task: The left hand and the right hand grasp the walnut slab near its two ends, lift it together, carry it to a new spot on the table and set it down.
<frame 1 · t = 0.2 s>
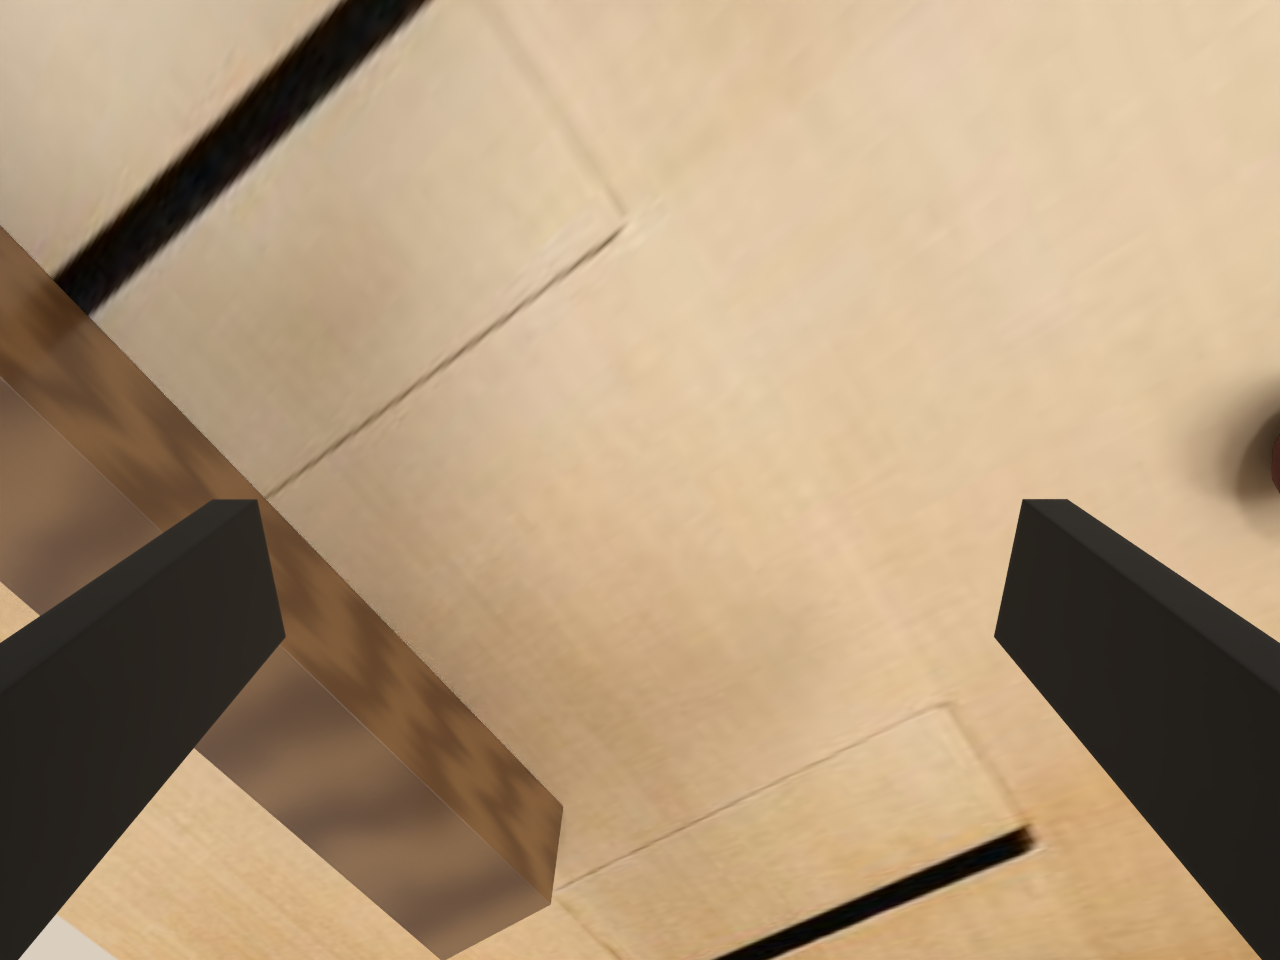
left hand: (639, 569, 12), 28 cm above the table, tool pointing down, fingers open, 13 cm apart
slab: (169, 493, 42), on the table
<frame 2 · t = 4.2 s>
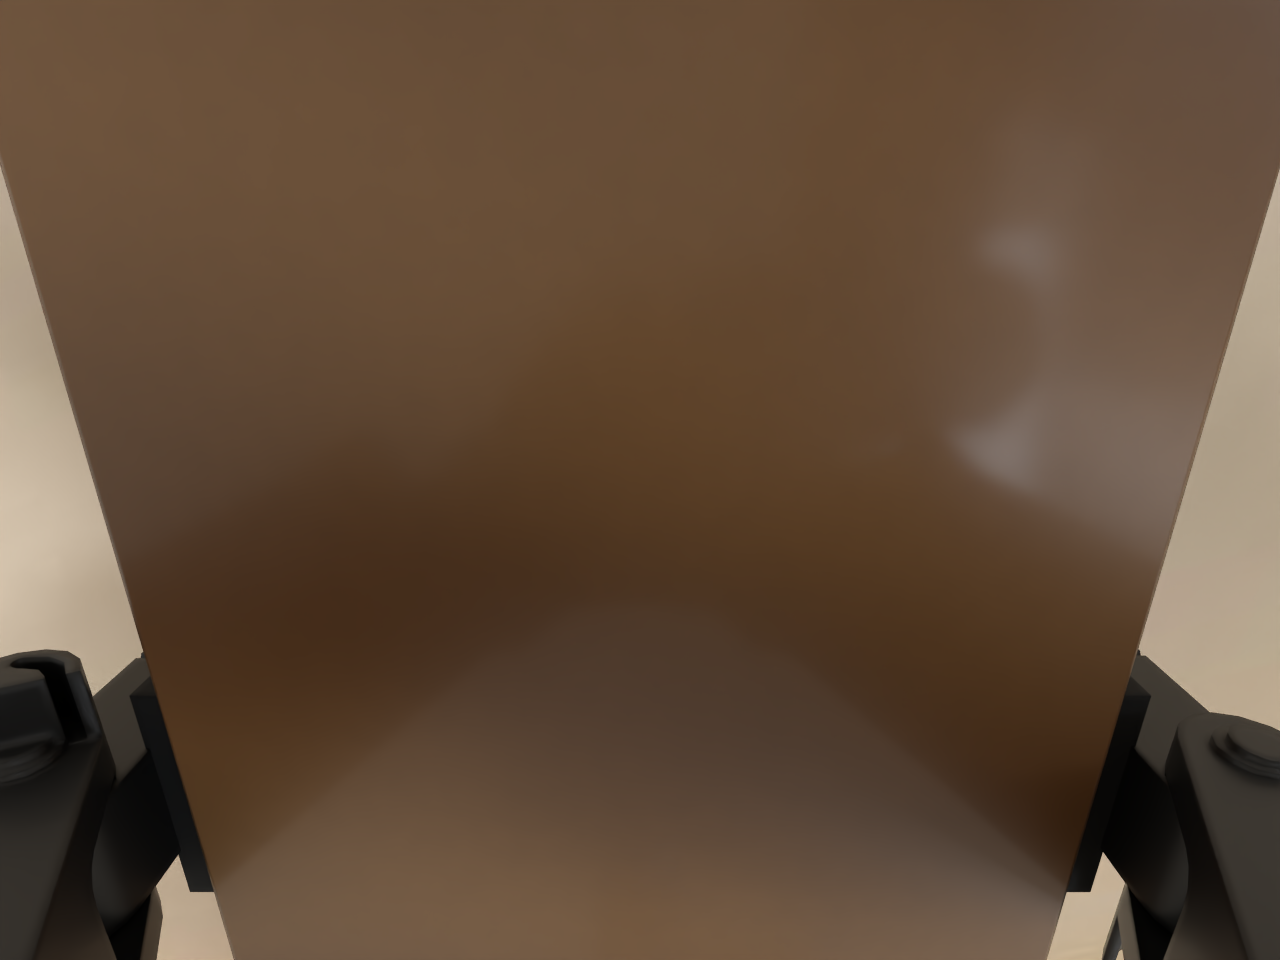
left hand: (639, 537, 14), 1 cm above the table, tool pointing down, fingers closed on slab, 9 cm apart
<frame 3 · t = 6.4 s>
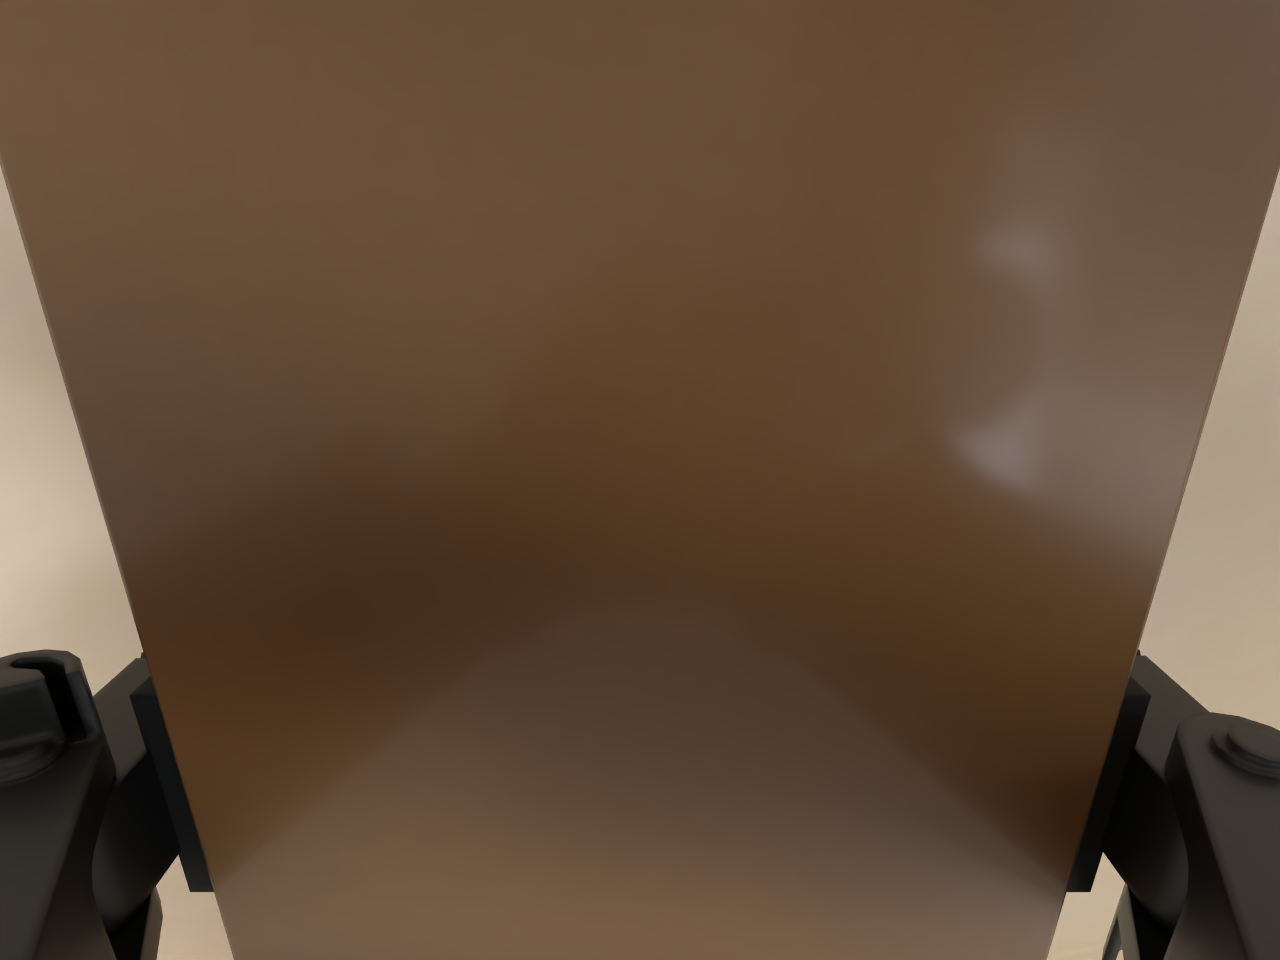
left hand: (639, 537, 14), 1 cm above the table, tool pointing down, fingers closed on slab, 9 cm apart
when the left hand's fingers open (2 cm above the table, at t = 11.7 s): slab drops 1 cm, on the table.
when the right hand's fingers open (2 cm above the table, at t = 11.7 s): slab drops 1 cm, on the table.
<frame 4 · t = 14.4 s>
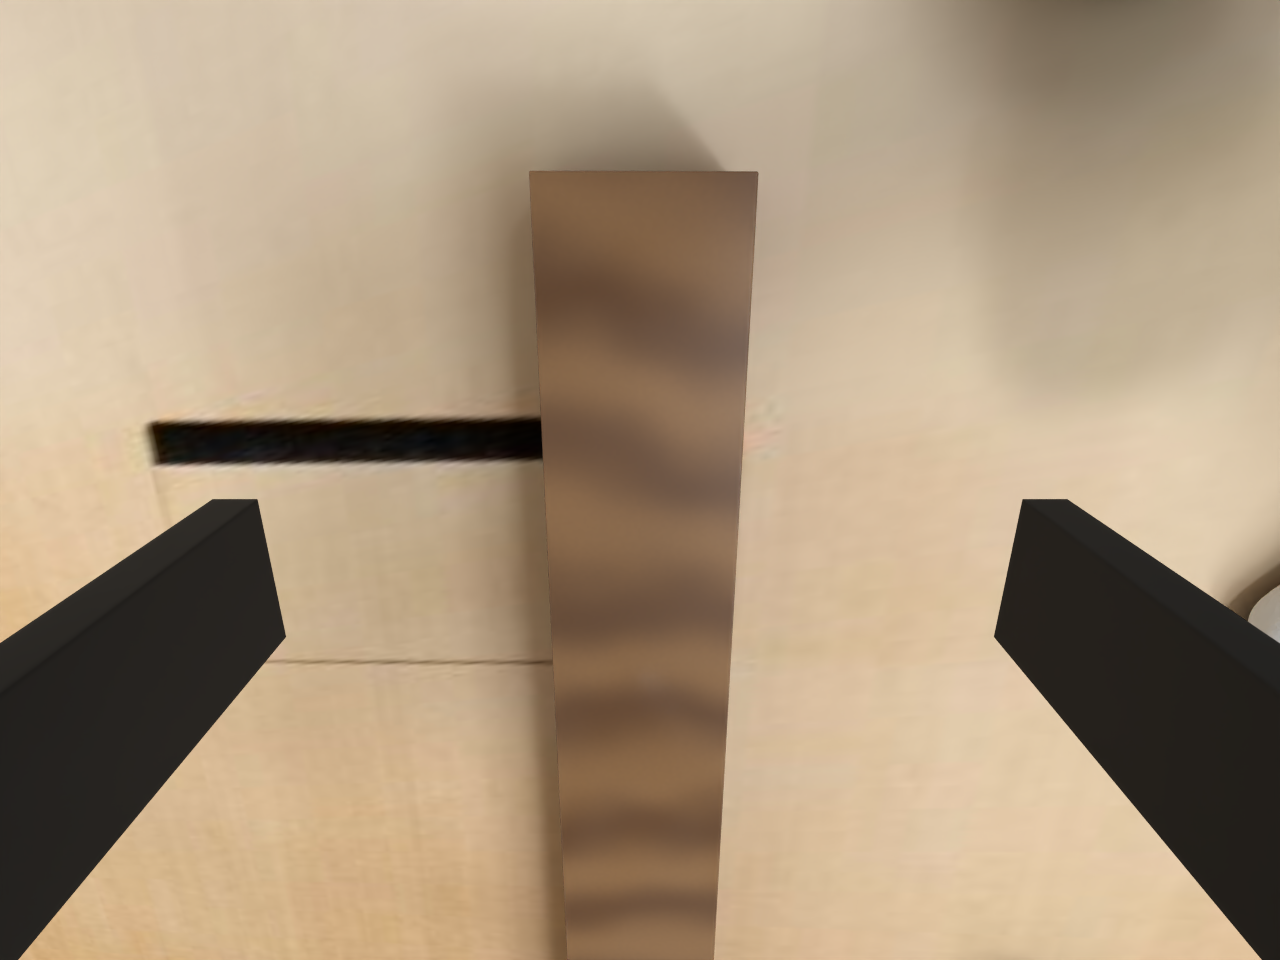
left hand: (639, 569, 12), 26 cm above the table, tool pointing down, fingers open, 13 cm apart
slab: (640, 728, 46), on the table
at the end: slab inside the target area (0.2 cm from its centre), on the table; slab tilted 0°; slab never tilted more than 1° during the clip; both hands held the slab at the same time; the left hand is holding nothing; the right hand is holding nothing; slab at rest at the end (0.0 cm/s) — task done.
